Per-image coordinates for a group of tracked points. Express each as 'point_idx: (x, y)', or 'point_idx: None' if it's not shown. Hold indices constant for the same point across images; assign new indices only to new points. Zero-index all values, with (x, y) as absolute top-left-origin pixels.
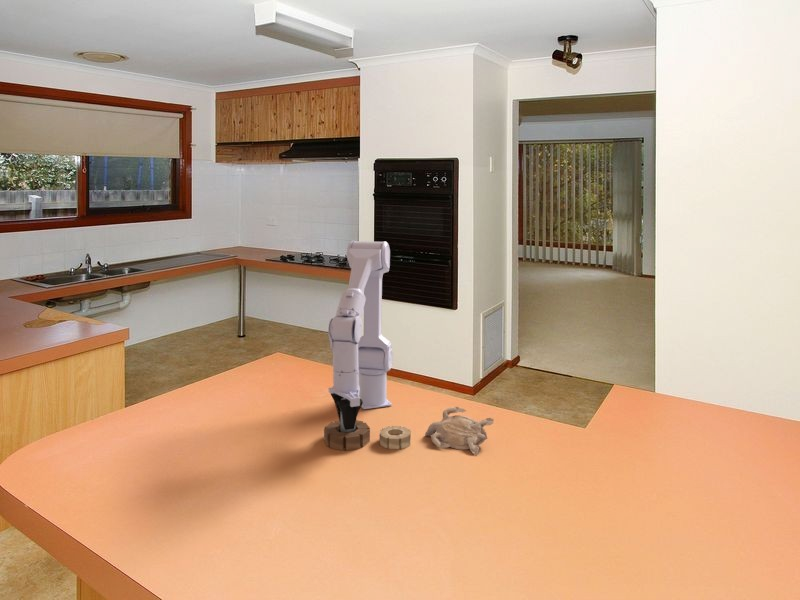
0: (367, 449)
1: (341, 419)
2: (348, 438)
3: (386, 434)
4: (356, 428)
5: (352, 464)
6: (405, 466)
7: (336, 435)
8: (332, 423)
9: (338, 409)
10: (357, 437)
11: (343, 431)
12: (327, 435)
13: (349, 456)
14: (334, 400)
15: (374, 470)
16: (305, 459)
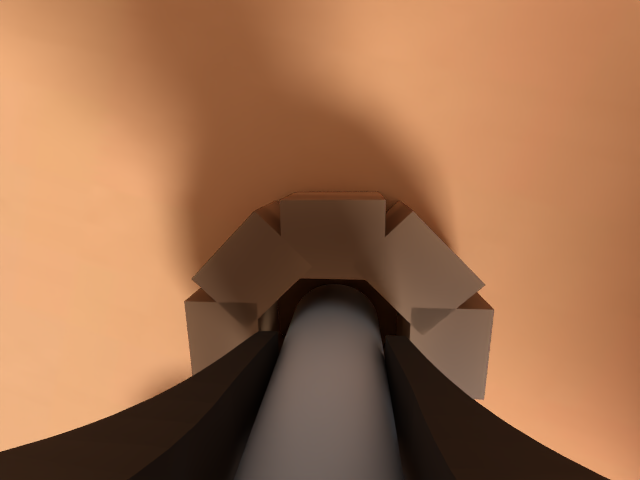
0: None
1: (311, 354)
2: (188, 312)
3: None
4: None
5: (71, 257)
6: (20, 442)
7: (240, 254)
8: (457, 283)
9: (413, 401)
10: (196, 364)
11: (300, 315)
12: (282, 199)
13: (153, 268)
14: (468, 466)
15: (3, 326)
16: (174, 27)
